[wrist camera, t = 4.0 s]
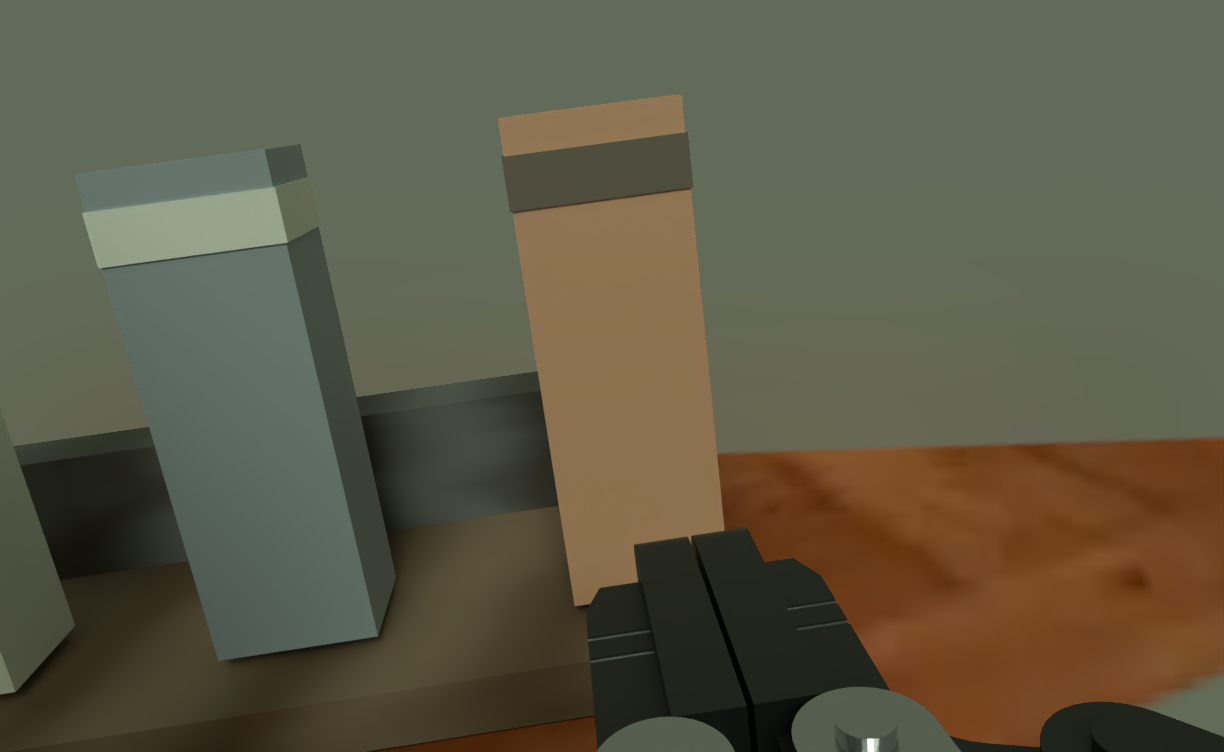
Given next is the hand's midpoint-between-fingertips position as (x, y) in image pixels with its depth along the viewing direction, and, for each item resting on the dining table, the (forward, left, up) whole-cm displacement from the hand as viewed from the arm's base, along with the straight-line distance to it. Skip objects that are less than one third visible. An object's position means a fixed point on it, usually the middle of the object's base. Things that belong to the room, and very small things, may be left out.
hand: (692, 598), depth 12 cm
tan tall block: (0, +11, -6) cm, 13 cm away
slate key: (-9, +11, -6) cm, 16 cm away
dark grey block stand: (-9, +13, -8) cm, 18 cm away
